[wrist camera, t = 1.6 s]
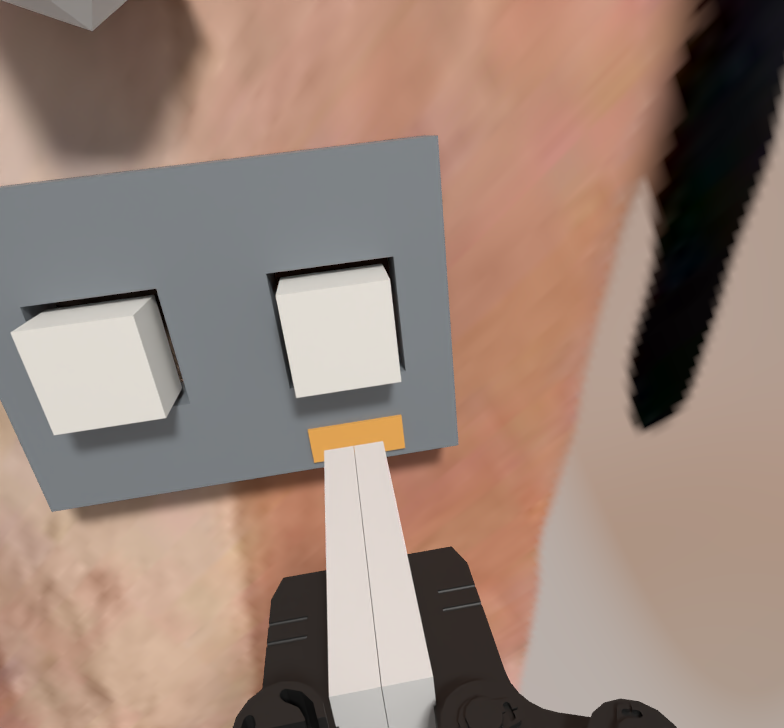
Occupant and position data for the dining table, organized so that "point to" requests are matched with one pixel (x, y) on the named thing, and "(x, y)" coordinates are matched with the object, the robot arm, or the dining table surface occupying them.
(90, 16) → the die
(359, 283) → the tagged button
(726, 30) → the dining table surface
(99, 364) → the button
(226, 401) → the breaker panel
